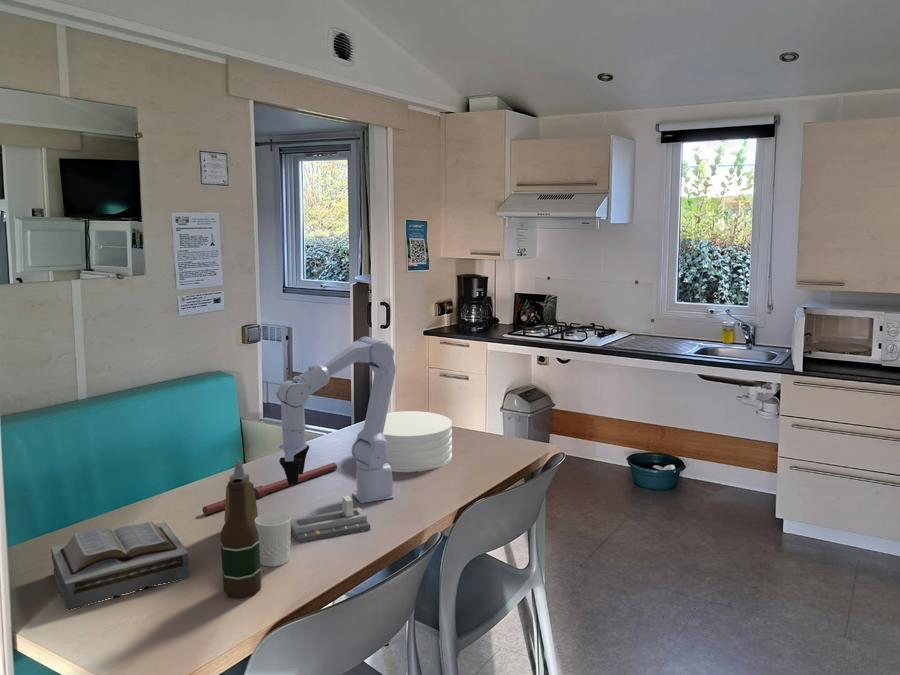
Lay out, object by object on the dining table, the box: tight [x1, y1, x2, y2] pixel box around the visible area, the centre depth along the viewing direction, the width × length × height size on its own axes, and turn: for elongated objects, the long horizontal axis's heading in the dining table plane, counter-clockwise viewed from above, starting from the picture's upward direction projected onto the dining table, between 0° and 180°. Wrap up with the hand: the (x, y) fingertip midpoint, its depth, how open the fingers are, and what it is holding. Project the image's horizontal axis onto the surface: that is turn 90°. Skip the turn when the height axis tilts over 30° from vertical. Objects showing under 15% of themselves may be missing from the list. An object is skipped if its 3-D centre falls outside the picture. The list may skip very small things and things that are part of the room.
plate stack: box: [363, 410, 453, 473], centre depth 240 cm, size 28×28×12 cm
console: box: [291, 507, 371, 543], centre depth 188 cm, size 18×11×3 cm, turn 115°
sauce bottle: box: [220, 479, 262, 600], centre depth 155 cm, size 8×8×24 cm
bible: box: [50, 521, 190, 611], centre depth 163 cm, size 23×27×10 cm
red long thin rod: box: [202, 462, 338, 516], centre depth 212 cm, size 45×3×3 cm, turn 140°
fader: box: [341, 495, 355, 518], centre depth 189 cm, size 3×4×6 cm
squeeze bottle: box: [224, 460, 259, 524], centre depth 184 cm, size 8×8×18 cm
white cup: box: [255, 511, 292, 568], centre depth 170 cm, size 8×8×10 cm
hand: (295, 479), depth 193 cm, fingers open, 7 cm apart
